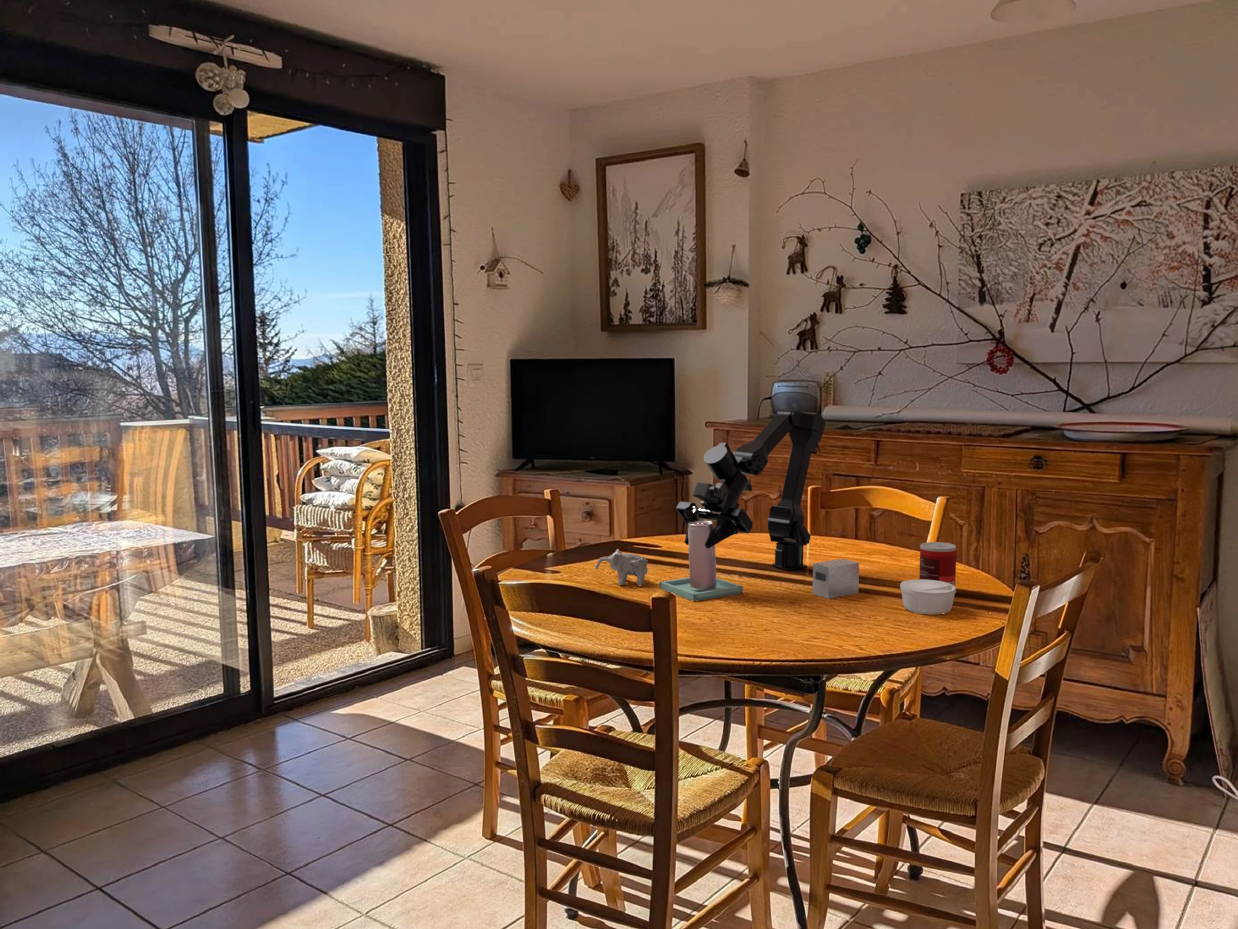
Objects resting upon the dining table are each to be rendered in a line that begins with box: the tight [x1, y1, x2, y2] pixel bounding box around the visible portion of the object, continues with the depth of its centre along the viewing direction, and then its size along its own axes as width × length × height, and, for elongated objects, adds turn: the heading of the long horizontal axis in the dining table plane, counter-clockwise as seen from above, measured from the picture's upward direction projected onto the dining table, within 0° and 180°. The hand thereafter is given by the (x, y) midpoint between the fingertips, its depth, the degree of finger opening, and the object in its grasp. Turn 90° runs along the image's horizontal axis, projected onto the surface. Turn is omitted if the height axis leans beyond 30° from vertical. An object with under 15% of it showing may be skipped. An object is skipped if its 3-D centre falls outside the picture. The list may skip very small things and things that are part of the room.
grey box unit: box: [812, 558, 860, 600], centre depth 220 cm, size 10×5×7 cm, turn 121°
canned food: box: [918, 541, 957, 587], centre depth 220 cm, size 8×8×11 cm
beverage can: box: [687, 520, 717, 591], centre depth 222 cm, size 6×6×15 cm
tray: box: [658, 576, 744, 602], centre depth 224 cm, size 14×14×2 cm
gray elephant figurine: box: [595, 548, 649, 586], centre depth 231 cm, size 9×12×8 cm
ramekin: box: [899, 579, 957, 615], centre depth 207 cm, size 11×11×5 cm
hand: (696, 545), depth 221 cm, fingers closed on beverage can, 6 cm apart
